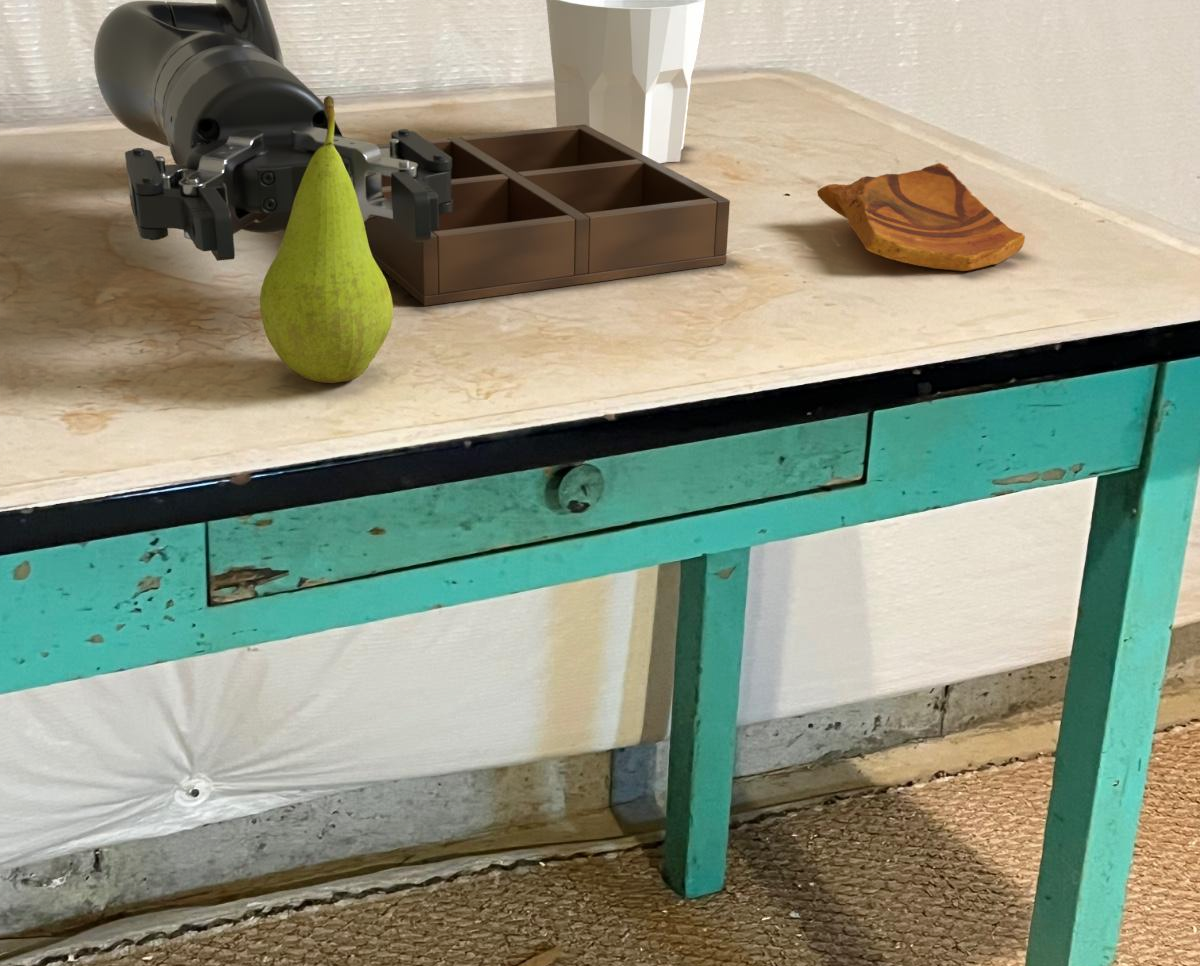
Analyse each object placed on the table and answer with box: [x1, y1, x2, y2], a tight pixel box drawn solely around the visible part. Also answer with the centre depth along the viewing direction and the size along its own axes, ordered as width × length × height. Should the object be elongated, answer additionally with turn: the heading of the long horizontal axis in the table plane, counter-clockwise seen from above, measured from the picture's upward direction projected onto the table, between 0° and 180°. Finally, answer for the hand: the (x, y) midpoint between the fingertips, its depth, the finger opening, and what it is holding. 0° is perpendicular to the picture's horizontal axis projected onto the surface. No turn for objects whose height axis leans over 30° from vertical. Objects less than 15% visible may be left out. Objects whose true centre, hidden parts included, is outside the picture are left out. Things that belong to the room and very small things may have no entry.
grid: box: [364, 124, 731, 307], centre depth 94 cm, size 17×17×4 cm
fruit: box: [259, 95, 394, 384], centre depth 73 cm, size 6×6×12 cm
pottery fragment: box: [816, 162, 1026, 272], centre depth 94 cm, size 10×5×10 cm
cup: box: [545, 0, 707, 164], centre depth 109 cm, size 10×10×10 cm
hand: (326, 228), depth 72 cm, fingers open, 8 cm apart
